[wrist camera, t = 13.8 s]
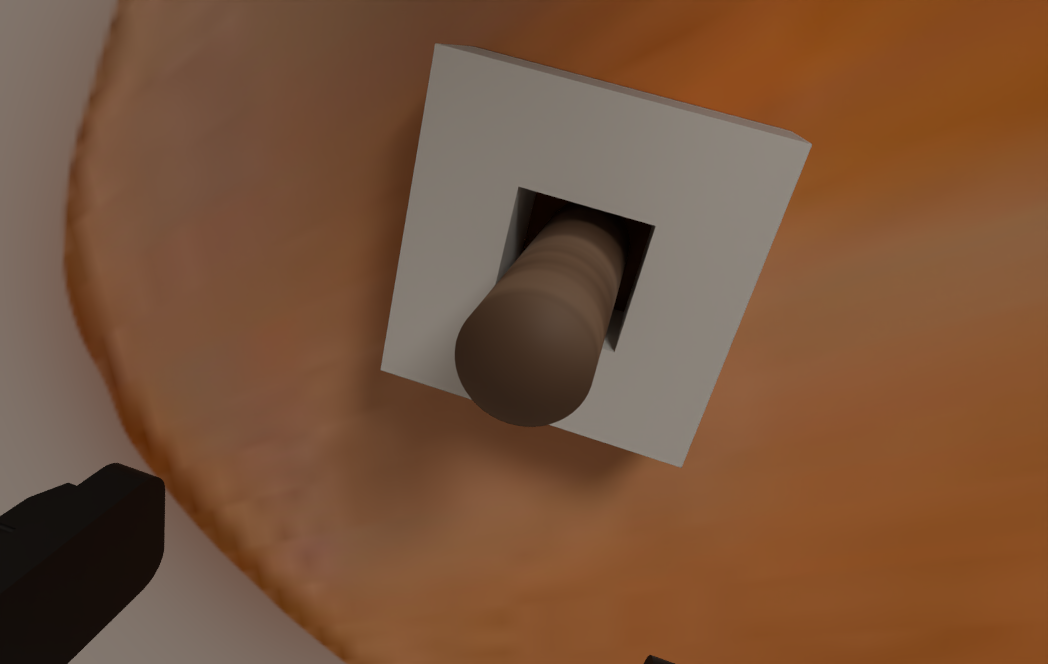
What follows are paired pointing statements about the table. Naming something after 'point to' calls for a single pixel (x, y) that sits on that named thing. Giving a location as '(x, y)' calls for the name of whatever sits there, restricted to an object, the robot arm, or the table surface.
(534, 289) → the walnut peg
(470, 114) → the block
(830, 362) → the table surface
